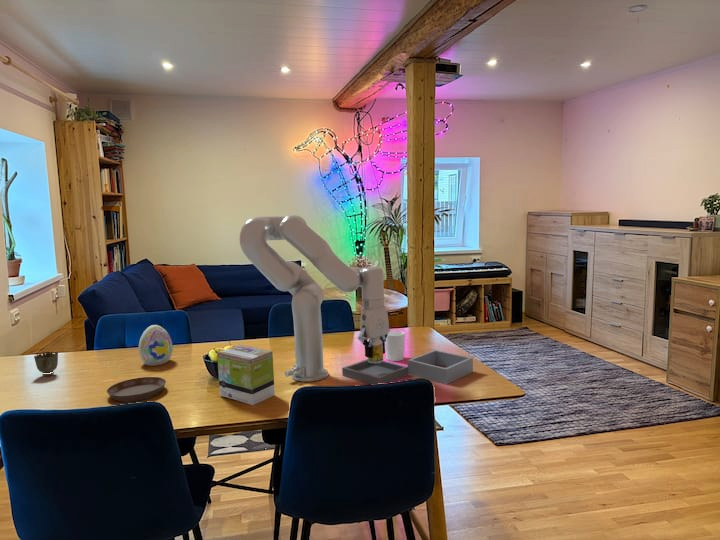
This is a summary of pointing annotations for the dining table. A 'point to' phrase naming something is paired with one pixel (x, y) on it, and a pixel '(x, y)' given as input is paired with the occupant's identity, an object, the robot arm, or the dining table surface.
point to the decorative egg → (155, 346)
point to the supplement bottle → (376, 351)
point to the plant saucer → (136, 389)
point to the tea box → (246, 374)
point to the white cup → (395, 345)
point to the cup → (46, 362)
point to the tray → (375, 372)
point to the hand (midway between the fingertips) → (375, 354)
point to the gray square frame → (453, 362)
